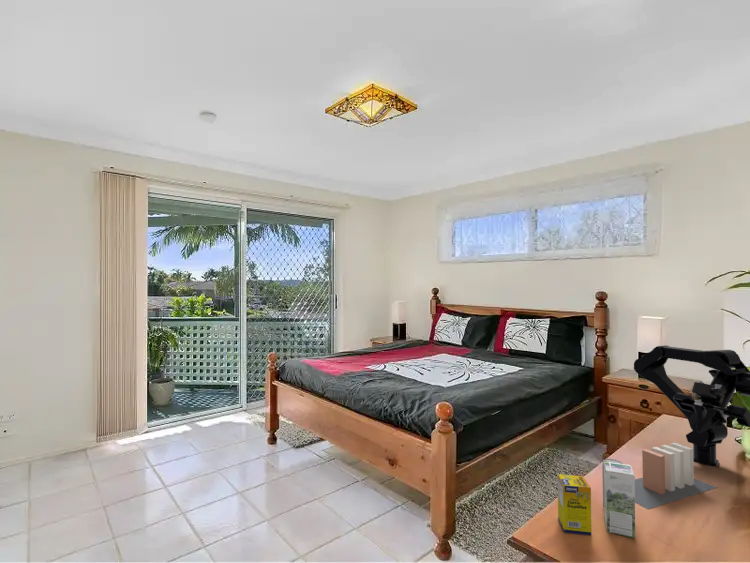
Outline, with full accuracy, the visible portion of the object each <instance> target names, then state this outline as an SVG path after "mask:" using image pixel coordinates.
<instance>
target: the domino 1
mask: <svg viewBox="0 0 750 563" xmlns="http://www.w3.org/2000/svg"><path fill="white" fill-rule="evenodd" d="M651 451H653V452H656V453H658V454H661V455H664V456H665V489H667V490H669V491H675V458H674V453H672V452H669V451H666V450H663V449H662V447H661V448H660V447H658V446H654V447H652V448H651Z"/></svg>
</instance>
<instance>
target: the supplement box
mask: <svg viewBox="0 0 750 563" xmlns="http://www.w3.org/2000/svg"><path fill="white" fill-rule="evenodd" d="M557 511H558V512H557V515H558V516H557V519H558V522H559V524H560V526H561V529H562V531H563V533H565V534H574V535H586V536H592V488H591V486H590V485H589V483H588V481H587V479H586V478H585V477H584V476H583V475H572V474H564V473H562V474H561V473H560V474H557Z"/></svg>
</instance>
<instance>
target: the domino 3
mask: <svg viewBox="0 0 750 563" xmlns="http://www.w3.org/2000/svg"><path fill="white" fill-rule="evenodd" d="M670 446H671V447H674V448H676V449H679V450H682V451H684V482H685V484H687V485H689V486H692V485H694V476H695V475H694V474H695V473H694V468H695V467H694V463H695V462H693V447H692V448H691V447H689V446H686V445H684V444H681V443H677V442H670Z"/></svg>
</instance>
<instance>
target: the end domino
mask: <svg viewBox="0 0 750 563" xmlns="http://www.w3.org/2000/svg"><path fill="white" fill-rule="evenodd" d="M641 453H642V454H641V455H642V458H641V459H642V462H641V463H642V477H643V486H644V487H646V488H648V489H650V490H653V491H655V492H657V493H659V494H665V456H664V455H661V454H658V453H656V452H653V451H652V450H650V449H646V448H644V449H642V452H641Z"/></svg>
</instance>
